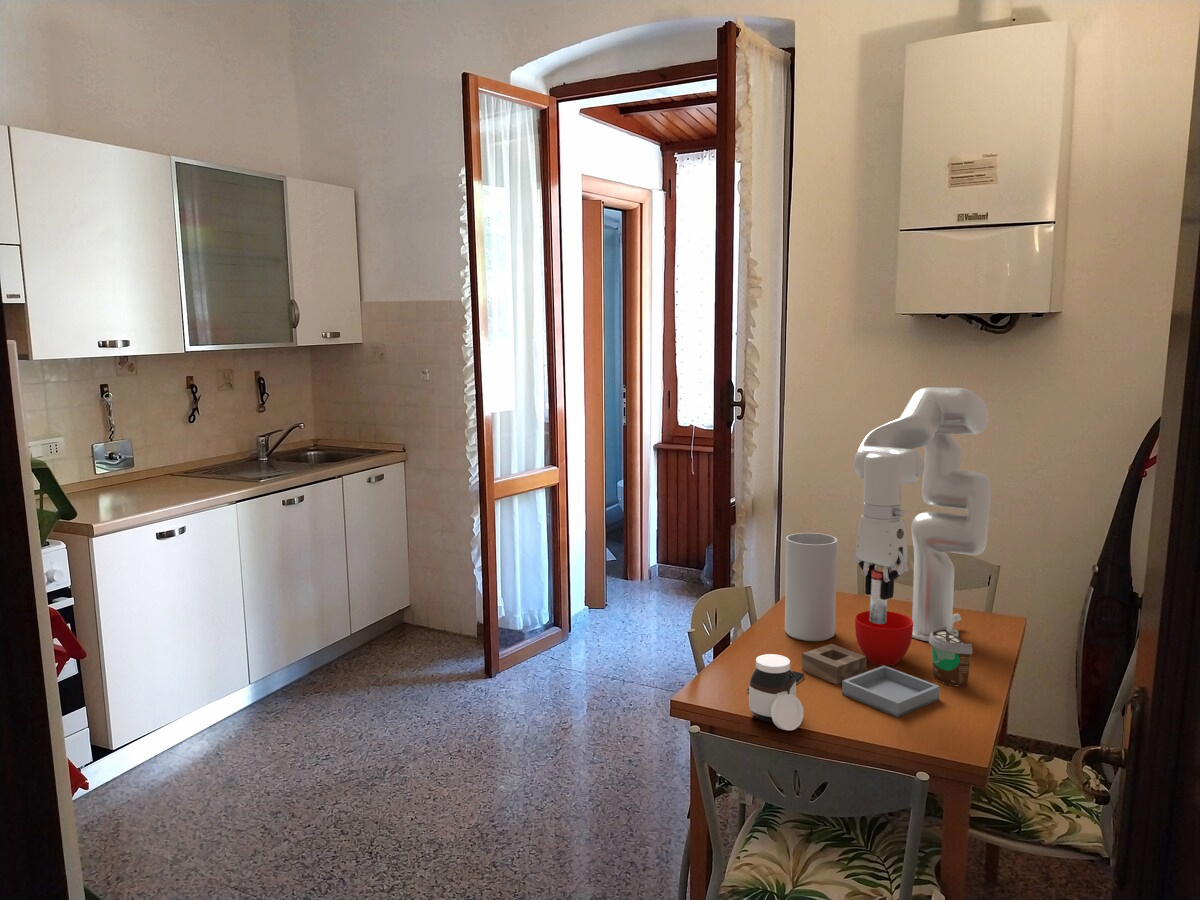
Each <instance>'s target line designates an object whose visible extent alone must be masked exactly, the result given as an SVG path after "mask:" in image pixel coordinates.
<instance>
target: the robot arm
mask: <svg viewBox="0 0 1200 900" xmlns="http://www.w3.org/2000/svg"><path fill="white" fill-rule="evenodd" d="M988 423H989V411H988V407H987V404H986V403H985V402H984V401H983V399H981V397H979V396H978V395H977V394H976V393H975V392H974V391H971V390H969V389H968V388H964V387H941V386H940V387H937V386H935V387H934V386H932V387H930V386H929V387H922V388H920V389H918V390H917V391H915V392H914V393H913V395H912V396H911V397H910V399H909V400H908V402H907V404H906V405H905V408H904V409H903V411H902V413H901V415H900V416H899V417H898V418H897V419H894V420H892V421H890V422H887V423H885V424H883V425H881V426H879V427H876V428H874V429H872V430H871V431H870V432H869V433H868V434H867V435H865V437H864V438H863V440H862V441H861V443H860V445H859V446H858V448H857V450H856V453H855V456H854V460H853V469H854V472H855V474H856V476H858V477H859V478H860V479H862V480H863V497H862V504H863V505H862V514H861V516H860V519H859V521H858V522H859V523H858V528H857V535H856V545H855V548H856V549H855V550H856V551H855V552H854V554H853V555H852V559H853V560H854V561H855V562H856V563H857V564H858V565H859V567H860V568H861V570H862V575H863V576H864V577H865V582H864V585H865V586H864V588H865V589H864V593H865V595H867V596H870V590H871V570H873V569H877V566H879V567H882V570H883V575H884V581H882V582H881V599H883V600H886V599H887V600H889V599H892V598H893V597H894V591H895V590H894V589H895V588H894V587H895V581H896V580H897V578H898V577H900V576H901V575H904V574H906V573H908V572H909V570H910V569H909V567H908V565H907V562H908V539H907V530H906V525H905V521H904V519H903V518H901V517H904V516H905V510H903V509H901V508H902V487H903V486H902V485H909V484H912V483H916V482H917V481H918V480H919V479H920V478H921V477H922V481H921V482H922V484H921V497H922V500H923V502H924V503H925V504H927V505H929V506H933V507H938V508H940V507H941V508H947V509H957V510H958V509H959V510H965V511H966V512H967V515H966V514H965V515H964V514H956V513H949V512H940V511H924V512H920V513H918V514H917V515H915V517H914V518H913V519H912V522H911V529H910V530H911V531H910V532H911V538H912V545H913V558H914V559H913V584H912V585H913V587H912V588H913V591H912V613H911V614H912V616H911V619H912V620H913V633H912V639H913V638H914V639H916V640H920V641H923V642H929V637H930V634H931V632H932V630H933V629H935V628H937V627H942V626H947V631H948V632H949V633H951V634H952V635H955V636H957V637H958V638H959V631H958V630H957V629H956V628H954V624H955V623H957V622H960V621H961V620H962V617H961V614H959V613H953V610H954V608H953V607H954V589H955V587H954V585H955V584H954V583H955V566H954V563H953V562H952V561H953V560H951V557H949V555H948V554H947V553H954V554H961V555H967V556H968V555H969V556H970V555H971V556H979V555H981V554H983V552H984V551H985V549H986V546H987V541H988V535H989V534H988V533H989V522H990V510H991V500H992V499H991V497H992V486H991V482H990V479H989V477H988V476H987V475H986V474H985V473H982V472H978V471H973V470H972V471H970V470H962V469H961V463H962V462H961V461H962V460H961V459H962V449H961V446H960V445H959V443H958V441H957V440H956V438H955V437H954V436H953V435H970V436H977V435H981V433H983V432H984V431H985V430H986V428H987V425H988ZM921 447H923V448H924V457H923V456H922V454H921V452H918V451H917V450H915V449H918V448H921Z"/></svg>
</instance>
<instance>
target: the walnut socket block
mask: <svg viewBox="0 0 1200 900" xmlns="http://www.w3.org/2000/svg"><path fill="white" fill-rule="evenodd" d="M801 655H802V656H801V670H802V671H803V672H805V673H808V674H811V675H813V676H815V677H817V678H820V679H822V680H825V681H827V682H830V683H831V684H834V685H839V684H842V681H843V680H846V679H848V678H851V677H854V676H857V675H859V674H862V673H865V672H867V657H866V656H865V655H864V654H860V653H858V652H855V651H853V650H849V649H848V648H844V647H841V646H838V645H836V644H834V643H830V644H827V645H824V646H820V647H817V648H814V649H812V650H809V651H808V650H807V651H805V652H802V653H801Z"/></svg>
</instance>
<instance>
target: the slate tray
mask: <svg viewBox="0 0 1200 900" xmlns="http://www.w3.org/2000/svg"><path fill="white" fill-rule="evenodd" d="M841 684H842V685H841V687H842V688H841V689H842V691H841V694H842V695H843V696H845V697H847V698H850V699H853V700H856V701H857V702H860V703H862V704H865V705H867V706H869V707H871V708H874V709H876V710H879V711H880V712H883V713H886V714H888V715H890V716H893V717H895V718H897V719H898V718H901V717H903V716H904V715H907V714H909V713H912V712H914V711H917V710H918V709H922V708H923V707H925V706H928V705H931V704H932V703H936V702H937V701H940V692H941V691H940V690H941V686H940V685H938V684H935V683H932V682H929V681H927V680H924V679H921V678H919V677H916V676H914V675H912V674H911V675H910V674H908V673H906V672H903V671H900V670H897V669H895V668H892V667H890V666H888V665H880V666H879V667H875V668H873V669H870V670H866V672H865V673H862V674H859V675H857V676H854V677H851V678H848V679H846V680H843V681H842V683H841Z"/></svg>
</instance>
